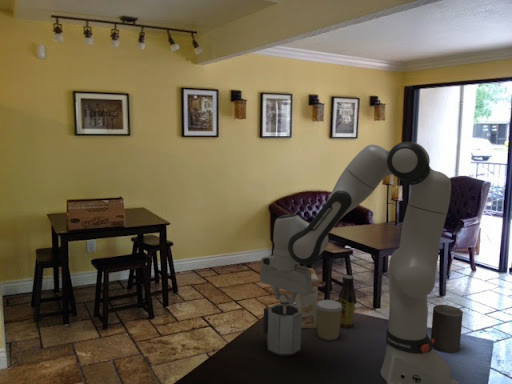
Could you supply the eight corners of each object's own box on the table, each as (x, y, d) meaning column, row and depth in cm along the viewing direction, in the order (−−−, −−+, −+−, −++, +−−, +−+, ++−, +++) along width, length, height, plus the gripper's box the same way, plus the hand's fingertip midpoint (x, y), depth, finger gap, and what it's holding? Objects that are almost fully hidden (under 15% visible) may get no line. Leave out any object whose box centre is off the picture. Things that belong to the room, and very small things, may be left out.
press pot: (306, 348, 155) (307, 310, 153) (286, 360, 147) (287, 319, 145) (275, 336, 165) (276, 299, 163) (254, 346, 156) (255, 308, 155)
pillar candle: (424, 343, 160) (427, 303, 158) (443, 338, 165) (446, 299, 163) (446, 356, 152) (450, 313, 150) (466, 350, 156) (469, 308, 154)
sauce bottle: (334, 323, 177) (336, 274, 175) (348, 321, 179) (350, 273, 177) (342, 329, 171) (344, 279, 169) (356, 328, 173) (358, 278, 170)
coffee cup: (339, 330, 170) (341, 300, 169) (342, 341, 161) (343, 309, 160) (315, 329, 171) (316, 298, 170) (315, 340, 162) (316, 308, 161)
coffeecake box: (317, 328, 172) (318, 279, 169) (298, 328, 172) (299, 279, 169) (311, 313, 187) (313, 267, 184) (294, 313, 187) (295, 267, 184)
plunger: (299, 333, 154) (300, 293, 153) (285, 340, 149) (286, 298, 147) (282, 327, 159) (283, 287, 158) (268, 333, 154) (269, 293, 152)
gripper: (316, 266, 146) (315, 307, 148) (269, 254, 160) (268, 291, 162) (305, 270, 142) (304, 312, 143) (257, 257, 155) (256, 296, 157)
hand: (284, 301), depth 153 cm, fingers closed on plunger, 4 cm apart
